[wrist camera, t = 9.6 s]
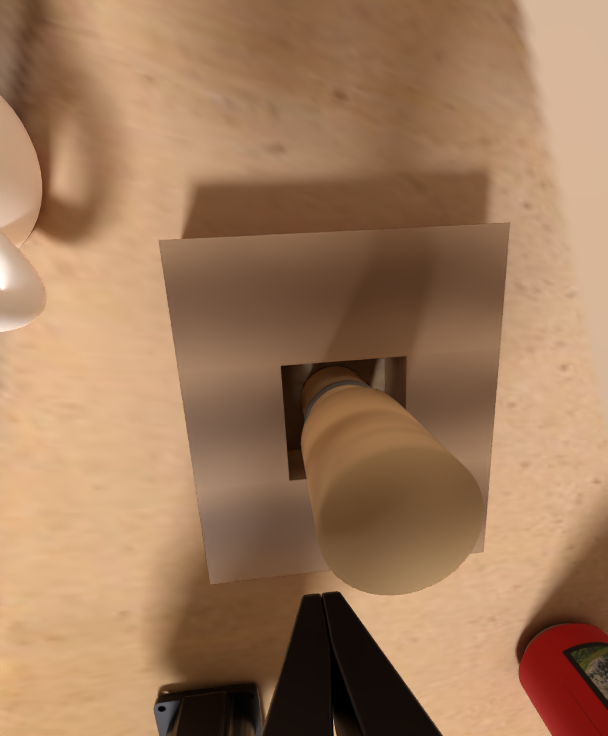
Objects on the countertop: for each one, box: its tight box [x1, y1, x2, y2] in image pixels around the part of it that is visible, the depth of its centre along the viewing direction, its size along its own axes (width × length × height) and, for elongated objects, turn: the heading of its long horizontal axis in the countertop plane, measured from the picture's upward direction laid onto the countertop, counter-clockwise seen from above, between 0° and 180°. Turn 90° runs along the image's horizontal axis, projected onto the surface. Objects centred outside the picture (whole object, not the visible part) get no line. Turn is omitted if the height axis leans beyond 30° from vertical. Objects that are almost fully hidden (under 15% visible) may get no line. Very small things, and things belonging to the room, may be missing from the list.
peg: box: [301, 366, 484, 595], centre depth 14 cm, size 4×4×10 cm
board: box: [159, 223, 510, 585], centre depth 17 cm, size 16×14×3 cm
